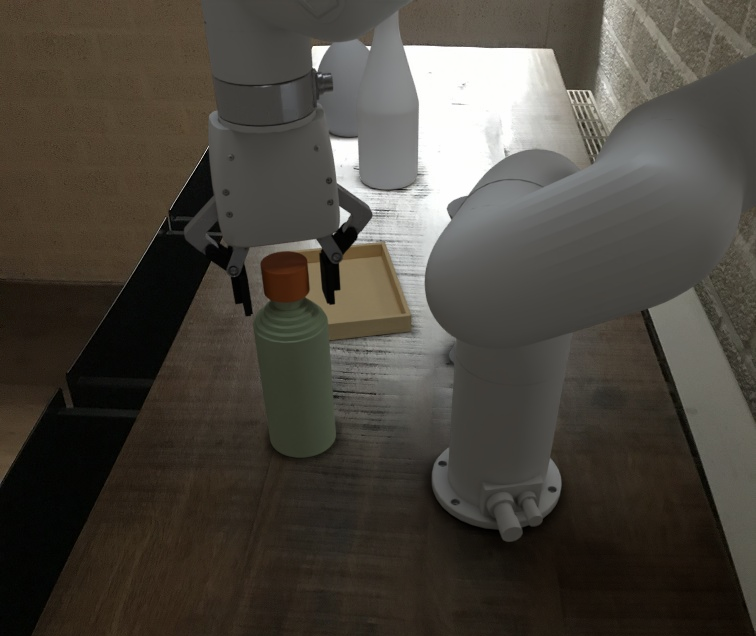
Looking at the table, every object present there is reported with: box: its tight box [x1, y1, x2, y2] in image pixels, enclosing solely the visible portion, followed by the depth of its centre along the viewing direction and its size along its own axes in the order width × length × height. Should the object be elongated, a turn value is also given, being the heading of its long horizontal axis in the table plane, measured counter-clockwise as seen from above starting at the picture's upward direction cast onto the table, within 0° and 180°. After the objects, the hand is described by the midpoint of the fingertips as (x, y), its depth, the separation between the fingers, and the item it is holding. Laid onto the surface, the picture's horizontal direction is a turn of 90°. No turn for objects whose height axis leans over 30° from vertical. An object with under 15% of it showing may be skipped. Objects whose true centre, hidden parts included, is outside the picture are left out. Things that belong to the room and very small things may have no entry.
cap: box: [259, 250, 310, 303], centre depth 71 cm, size 4×4×3 cm
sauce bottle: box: [252, 297, 337, 459], centre depth 78 cm, size 7×7×20 cm
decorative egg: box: [316, 38, 370, 138], centre depth 140 cm, size 12×12×15 cm
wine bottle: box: [357, 9, 420, 191], centre depth 119 cm, size 10×10×30 cm
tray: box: [291, 241, 412, 341], centre depth 103 cm, size 19×14×2 cm
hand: (288, 301), depth 73 cm, fingers open, 6 cm apart
